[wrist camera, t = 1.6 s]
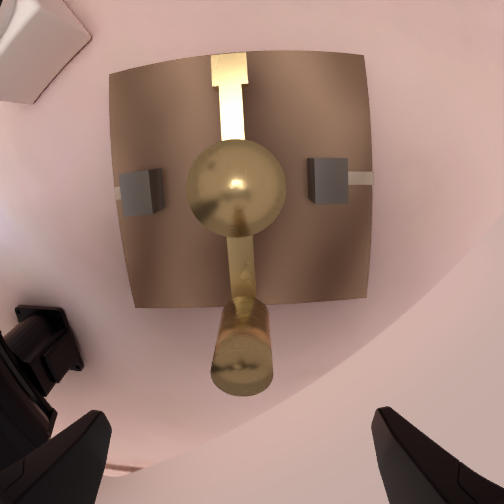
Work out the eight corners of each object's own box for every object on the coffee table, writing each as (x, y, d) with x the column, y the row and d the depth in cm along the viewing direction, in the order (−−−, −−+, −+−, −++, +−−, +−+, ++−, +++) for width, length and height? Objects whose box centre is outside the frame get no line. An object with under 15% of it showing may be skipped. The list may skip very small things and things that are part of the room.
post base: (140, 300, 21) (121, 327, 17) (116, 78, 16) (89, 64, 12) (361, 290, 21) (379, 316, 17) (357, 60, 16) (379, 41, 12)
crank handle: (209, 325, 17) (191, 395, 11) (186, 66, 13) (149, 21, 7) (286, 322, 17) (298, 393, 11) (275, 59, 12) (286, 6, 7)
